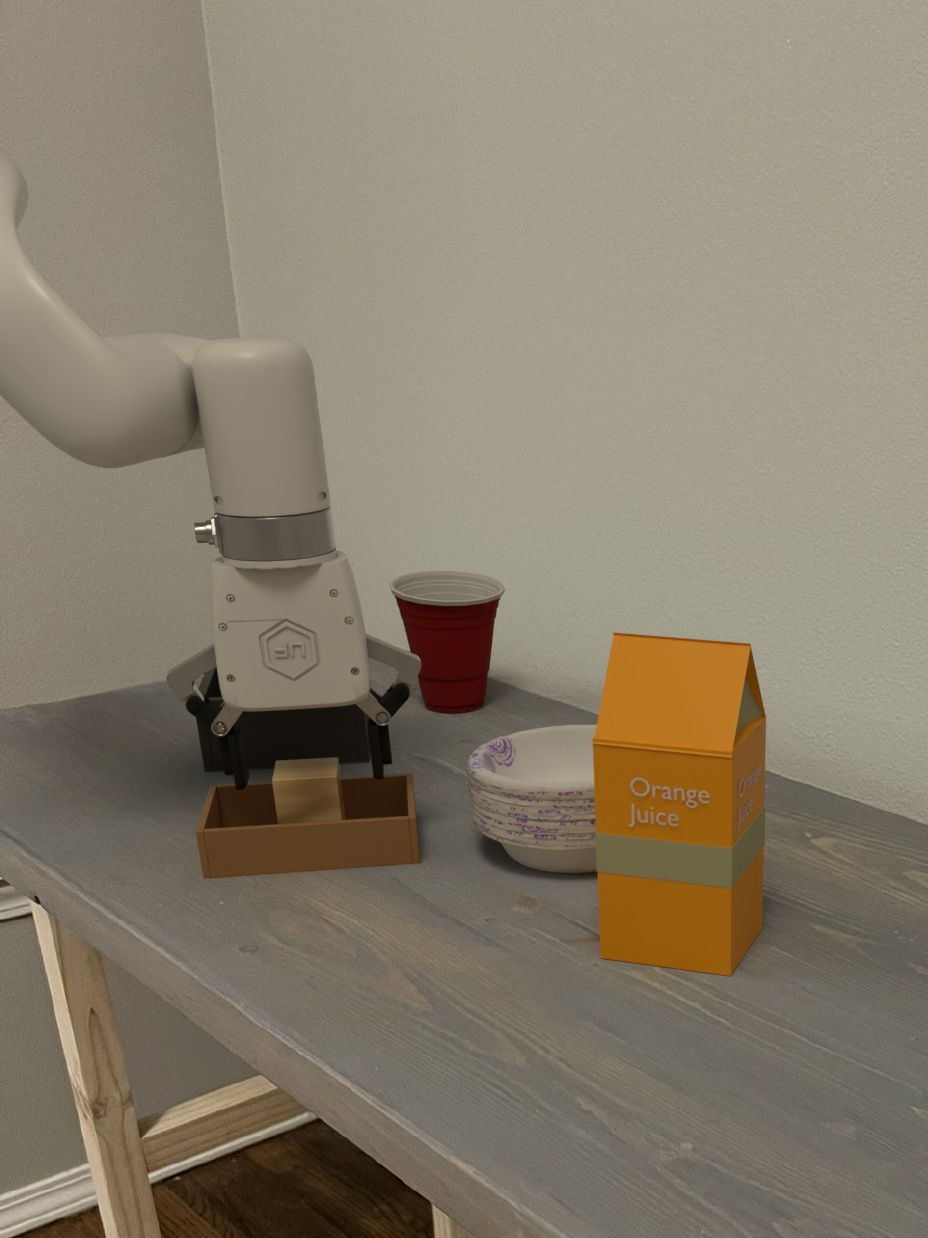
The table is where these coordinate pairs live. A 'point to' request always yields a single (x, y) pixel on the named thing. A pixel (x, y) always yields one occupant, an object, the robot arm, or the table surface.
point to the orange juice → (680, 803)
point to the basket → (288, 733)
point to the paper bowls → (538, 796)
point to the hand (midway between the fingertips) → (311, 778)
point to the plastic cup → (449, 634)
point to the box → (308, 830)
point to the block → (308, 790)
